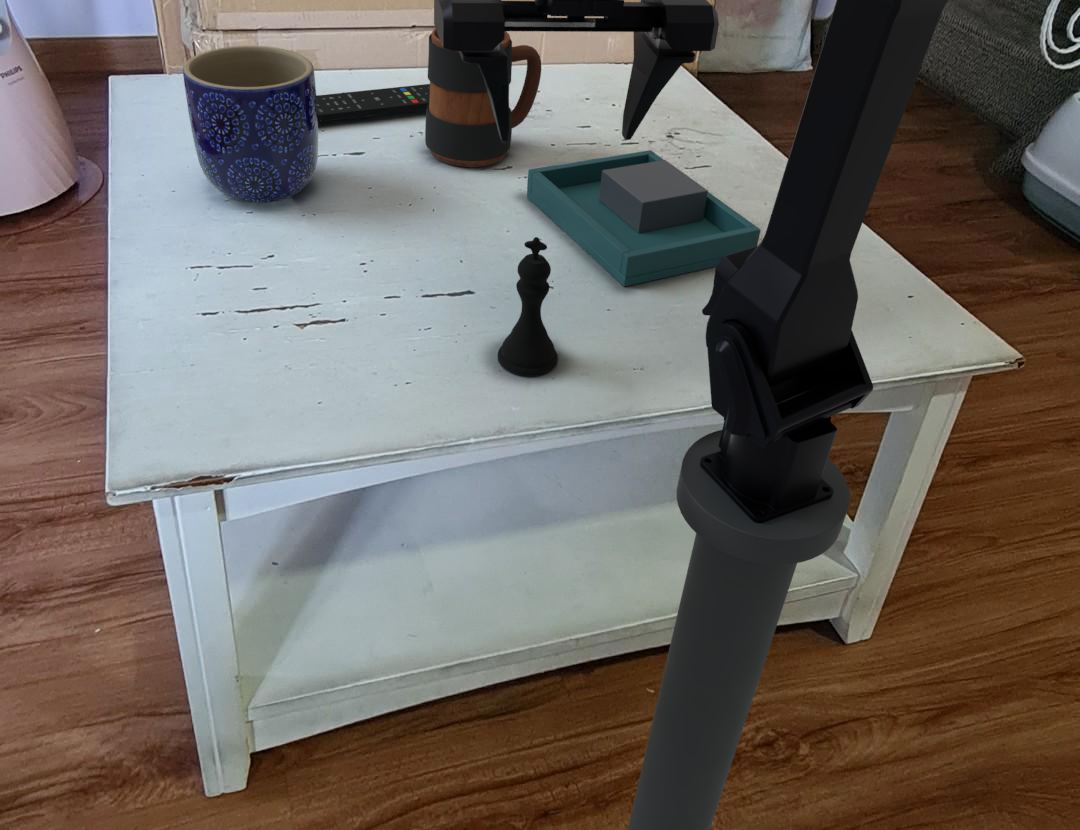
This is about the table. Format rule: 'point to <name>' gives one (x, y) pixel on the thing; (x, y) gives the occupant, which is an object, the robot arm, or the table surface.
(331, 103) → the remote control
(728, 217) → the tray
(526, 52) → the mug
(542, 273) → the chess piece
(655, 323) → the table surface
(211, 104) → the planter
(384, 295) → the table surface
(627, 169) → the block
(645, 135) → the table surface
